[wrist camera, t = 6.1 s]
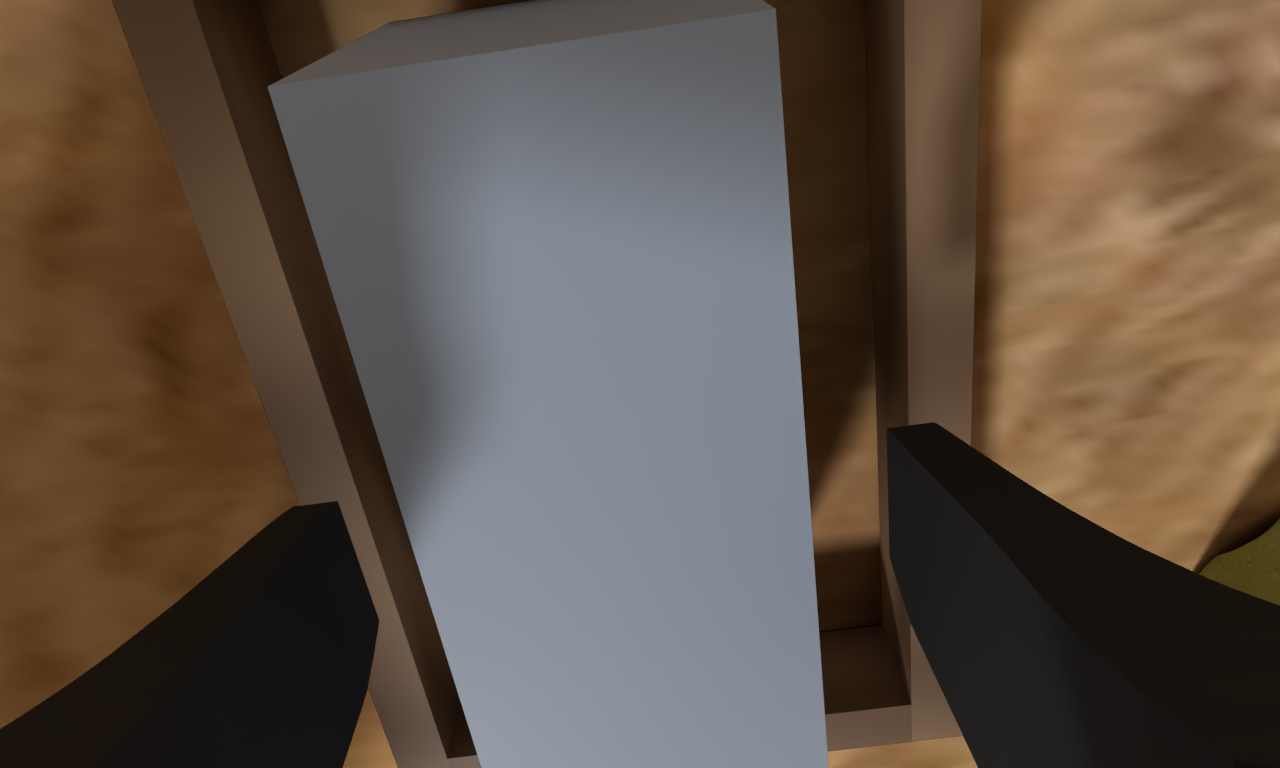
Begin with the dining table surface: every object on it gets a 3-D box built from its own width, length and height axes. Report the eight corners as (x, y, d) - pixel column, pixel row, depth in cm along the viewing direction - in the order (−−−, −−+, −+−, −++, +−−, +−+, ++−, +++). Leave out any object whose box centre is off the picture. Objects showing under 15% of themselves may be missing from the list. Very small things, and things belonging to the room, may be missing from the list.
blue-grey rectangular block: (783, 645, 18) (837, 890, 14) (552, 673, 18) (530, 923, 14) (720, -30, 12) (776, 9, 8) (390, 21, 13) (267, 87, 8)
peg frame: (930, 654, 20) (963, 735, 18) (429, 714, 21) (409, 799, 19) (932, -216, 13) (988, -238, 11) (158, -91, 13) (77, -89, 11)
